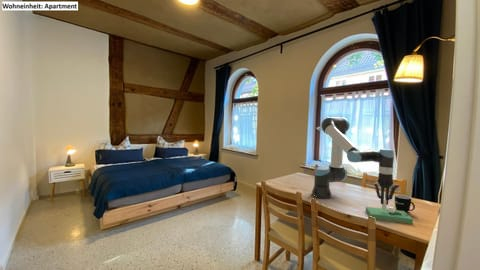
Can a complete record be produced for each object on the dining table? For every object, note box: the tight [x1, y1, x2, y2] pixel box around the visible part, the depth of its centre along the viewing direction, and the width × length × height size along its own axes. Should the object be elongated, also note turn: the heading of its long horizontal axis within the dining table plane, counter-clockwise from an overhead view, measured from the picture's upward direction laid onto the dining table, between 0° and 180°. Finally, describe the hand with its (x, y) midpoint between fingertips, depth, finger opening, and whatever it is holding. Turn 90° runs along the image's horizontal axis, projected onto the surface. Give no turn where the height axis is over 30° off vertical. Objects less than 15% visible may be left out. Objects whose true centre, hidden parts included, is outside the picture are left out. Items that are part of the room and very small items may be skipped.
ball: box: [387, 206, 396, 213], centre depth 135 cm, size 4×4×4 cm
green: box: [365, 206, 414, 225], centre depth 136 cm, size 22×12×3 cm, turn 73°
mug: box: [394, 193, 416, 214], centre depth 144 cm, size 12×9×10 cm
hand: (383, 209), depth 136 cm, fingers closed
